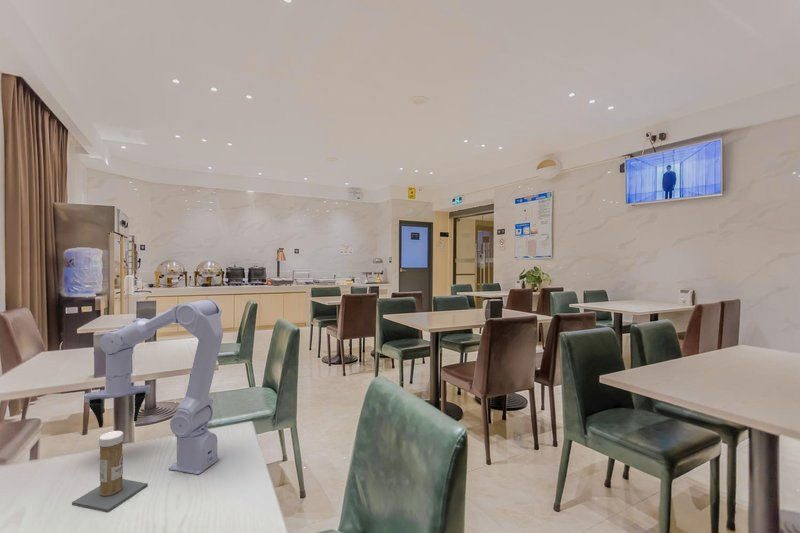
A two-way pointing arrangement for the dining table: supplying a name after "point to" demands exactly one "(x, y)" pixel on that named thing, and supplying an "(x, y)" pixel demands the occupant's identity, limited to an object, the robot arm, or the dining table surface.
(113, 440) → the sprinkles bottle
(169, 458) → the dining table surface
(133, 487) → the coaster
